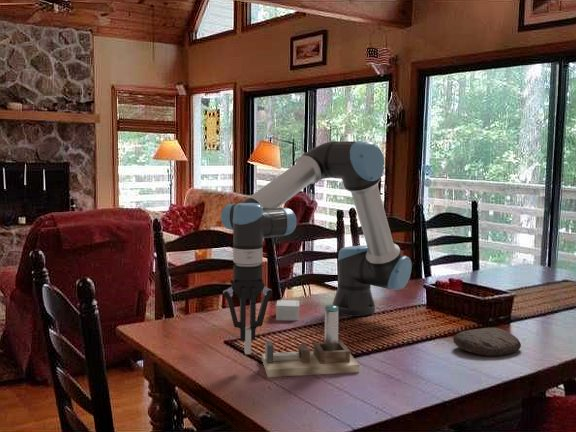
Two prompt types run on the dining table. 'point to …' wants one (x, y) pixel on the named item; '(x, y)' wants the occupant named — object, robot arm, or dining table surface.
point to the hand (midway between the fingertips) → (247, 352)
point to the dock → (313, 362)
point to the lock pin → (277, 357)
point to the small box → (287, 310)
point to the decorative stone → (487, 341)
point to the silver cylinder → (331, 327)
